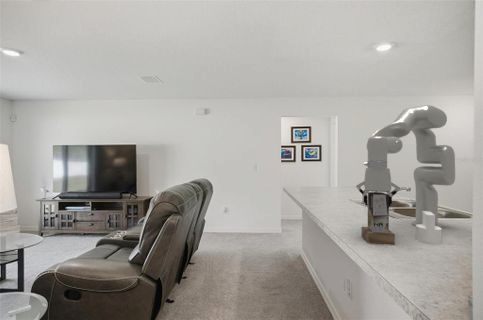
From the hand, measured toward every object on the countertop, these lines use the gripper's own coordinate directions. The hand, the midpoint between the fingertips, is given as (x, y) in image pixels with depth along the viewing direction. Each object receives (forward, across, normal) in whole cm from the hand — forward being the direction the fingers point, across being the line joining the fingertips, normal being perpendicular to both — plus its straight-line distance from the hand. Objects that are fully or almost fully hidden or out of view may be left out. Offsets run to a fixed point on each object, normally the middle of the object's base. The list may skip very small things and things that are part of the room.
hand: (377, 205), depth 111 cm
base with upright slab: (+16, +20, +8) cm, 27 cm away
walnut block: (+16, 0, 0) cm, 16 cm away
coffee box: (+11, 0, 0) cm, 11 cm away
